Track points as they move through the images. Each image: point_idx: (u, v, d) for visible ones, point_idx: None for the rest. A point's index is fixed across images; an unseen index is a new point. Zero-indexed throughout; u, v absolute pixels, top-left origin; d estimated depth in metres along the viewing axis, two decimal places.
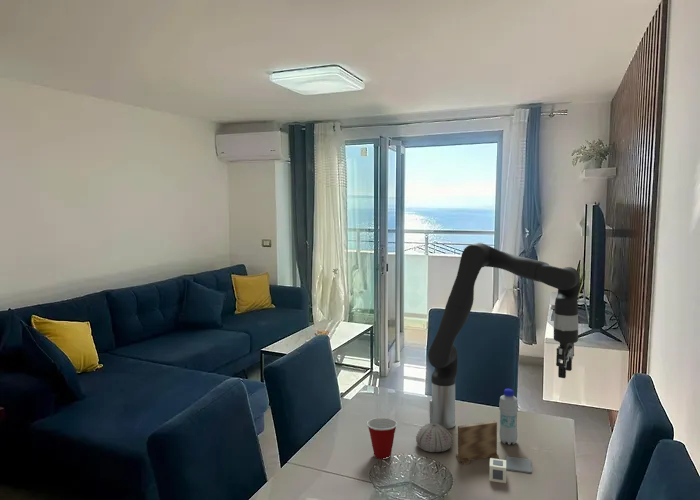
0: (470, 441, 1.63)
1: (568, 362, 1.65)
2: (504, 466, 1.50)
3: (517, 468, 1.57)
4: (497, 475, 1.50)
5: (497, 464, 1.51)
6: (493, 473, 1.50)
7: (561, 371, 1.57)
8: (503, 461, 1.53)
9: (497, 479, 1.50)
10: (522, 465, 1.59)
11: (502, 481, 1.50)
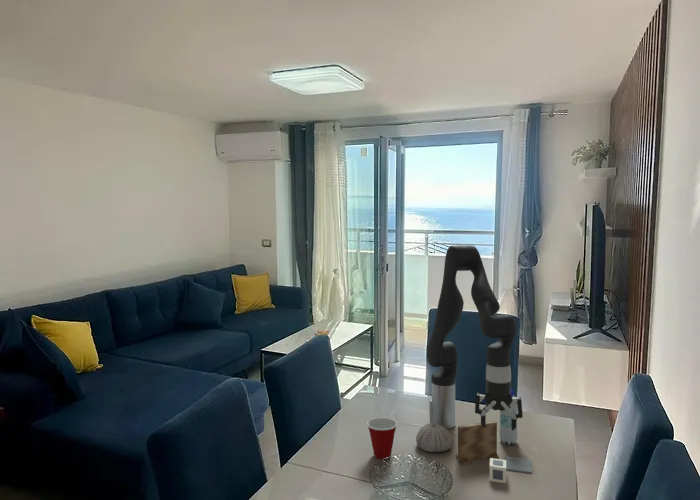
0: (470, 441, 1.63)
1: (485, 417, 1.52)
2: (504, 466, 1.50)
3: (517, 468, 1.57)
4: (497, 475, 1.50)
5: (497, 464, 1.51)
6: (493, 473, 1.50)
7: None
8: (503, 461, 1.53)
9: (497, 479, 1.50)
10: (522, 465, 1.59)
11: (502, 481, 1.50)
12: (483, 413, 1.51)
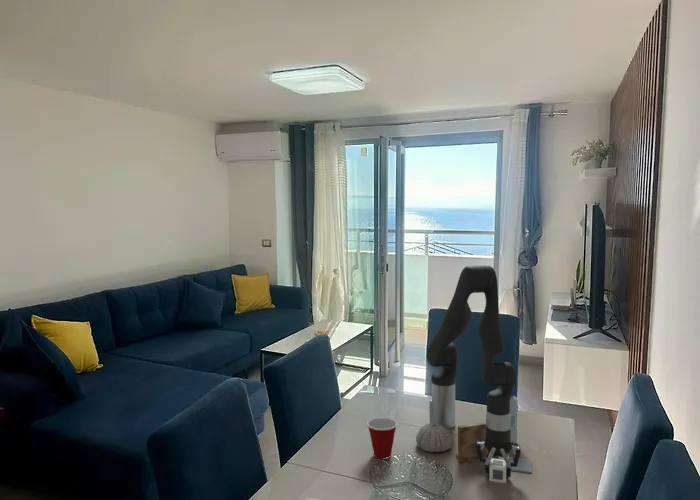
0: (470, 441, 1.63)
1: (489, 465, 1.53)
2: (504, 466, 1.50)
3: (517, 468, 1.57)
4: (497, 475, 1.50)
5: (497, 464, 1.51)
6: (493, 473, 1.50)
7: (510, 470, 1.51)
8: (503, 461, 1.53)
9: (497, 479, 1.50)
10: (522, 465, 1.59)
11: (502, 481, 1.50)
12: (487, 462, 1.52)
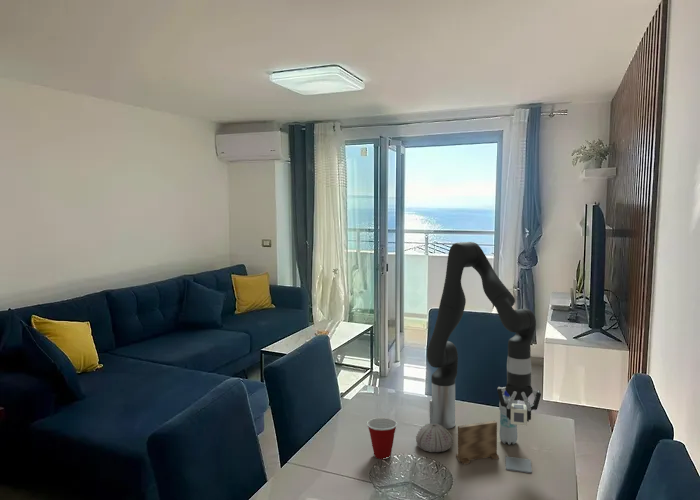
0: (470, 441, 1.63)
1: (510, 410, 1.59)
2: (525, 409, 1.55)
3: (517, 468, 1.57)
4: (518, 418, 1.56)
5: (518, 408, 1.57)
6: (514, 416, 1.56)
7: (530, 413, 1.57)
8: (523, 405, 1.59)
9: (518, 422, 1.56)
10: (522, 465, 1.59)
11: (523, 423, 1.55)
12: (509, 406, 1.58)
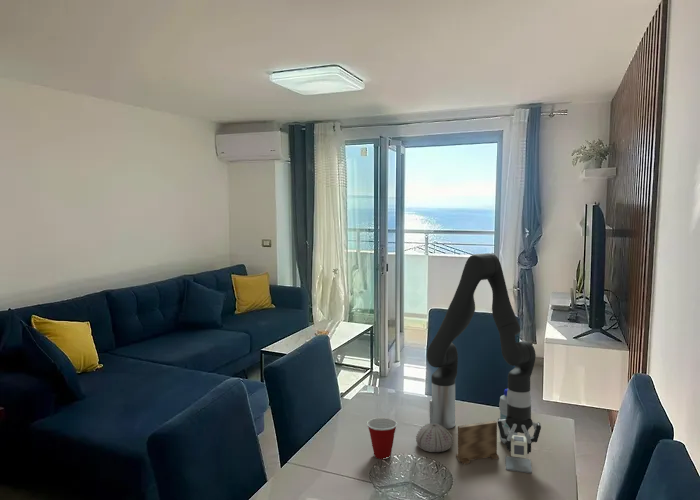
0: (470, 441, 1.63)
1: None
2: (525, 442, 1.56)
3: (517, 468, 1.57)
4: (518, 450, 1.57)
5: (518, 440, 1.58)
6: (515, 448, 1.57)
7: (530, 446, 1.58)
8: (524, 437, 1.59)
9: (518, 454, 1.57)
10: (522, 465, 1.59)
11: (523, 456, 1.56)
12: (509, 438, 1.58)
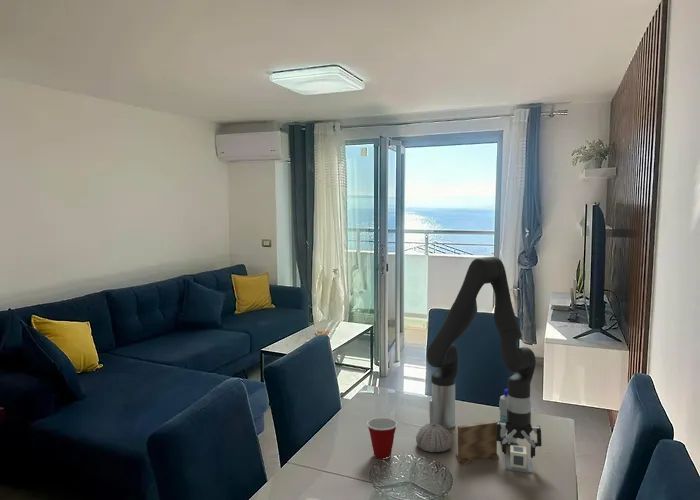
0: (470, 441, 1.63)
1: None
2: (525, 453, 1.57)
3: (517, 468, 1.57)
4: (517, 461, 1.57)
5: (517, 450, 1.58)
6: (514, 458, 1.57)
7: None
8: (523, 448, 1.60)
9: (518, 465, 1.57)
10: None
11: (522, 466, 1.57)
12: (504, 441, 1.59)
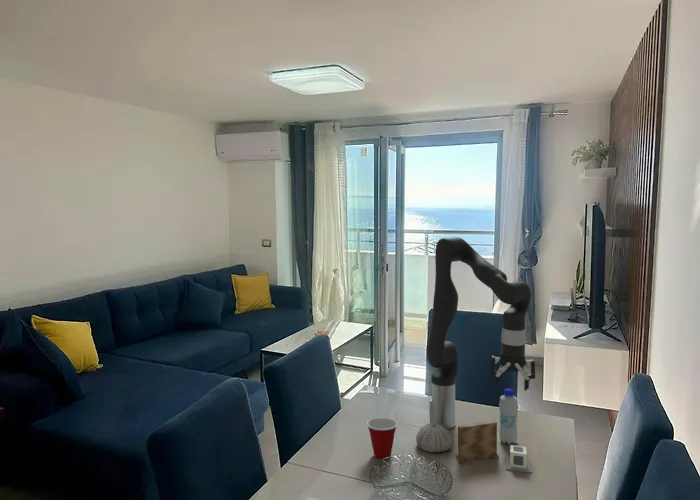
0: (470, 441, 1.63)
1: (499, 378, 1.62)
2: (525, 453, 1.57)
3: (517, 468, 1.57)
4: (517, 461, 1.57)
5: (517, 450, 1.58)
6: (514, 458, 1.57)
7: (528, 383, 1.59)
8: (523, 448, 1.60)
9: (518, 465, 1.57)
10: None
11: (522, 466, 1.57)
12: (498, 374, 1.61)
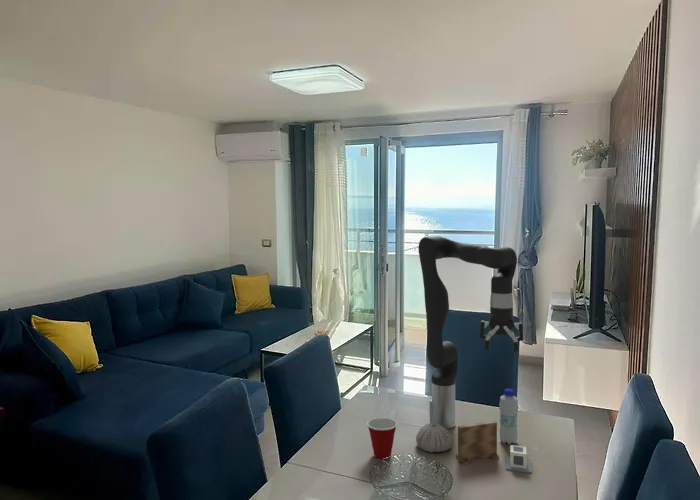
0: (470, 441, 1.63)
1: (489, 342, 1.67)
2: (525, 453, 1.57)
3: (517, 468, 1.57)
4: (517, 461, 1.57)
5: (517, 450, 1.58)
6: (514, 458, 1.57)
7: None
8: (523, 448, 1.60)
9: (518, 465, 1.57)
10: None
11: (522, 466, 1.57)
12: (487, 337, 1.66)
